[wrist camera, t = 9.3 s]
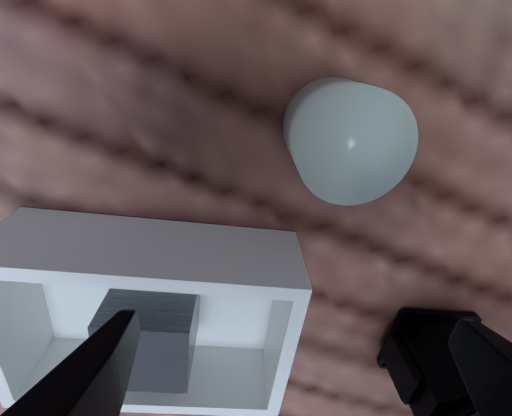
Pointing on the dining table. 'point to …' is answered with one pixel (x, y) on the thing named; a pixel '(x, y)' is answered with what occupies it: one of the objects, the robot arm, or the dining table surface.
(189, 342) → the metal block
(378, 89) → the jar
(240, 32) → the dining table surface
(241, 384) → the tote
